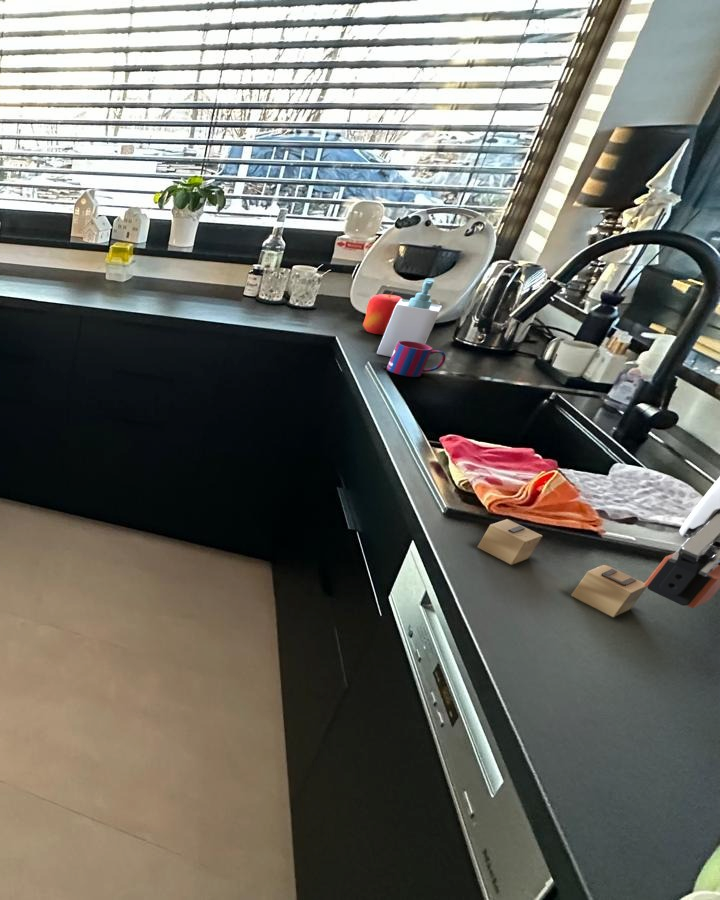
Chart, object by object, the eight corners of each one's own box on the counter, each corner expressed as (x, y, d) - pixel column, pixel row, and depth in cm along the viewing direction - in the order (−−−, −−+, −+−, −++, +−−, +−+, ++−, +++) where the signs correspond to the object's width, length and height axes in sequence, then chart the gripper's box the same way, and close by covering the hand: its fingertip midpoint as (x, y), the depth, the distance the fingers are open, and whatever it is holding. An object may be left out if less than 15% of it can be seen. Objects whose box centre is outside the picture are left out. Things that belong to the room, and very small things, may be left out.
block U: (569, 597, 76) (588, 570, 74) (586, 589, 77) (605, 562, 75) (611, 619, 72) (632, 591, 70) (628, 610, 74) (649, 583, 72)
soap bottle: (375, 354, 159) (406, 278, 150) (381, 346, 165) (410, 273, 156) (416, 362, 154) (450, 285, 145) (420, 354, 160) (453, 280, 151)
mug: (384, 365, 151) (396, 338, 148) (434, 374, 147) (447, 347, 144) (387, 374, 146) (399, 346, 142) (439, 383, 142) (452, 354, 138)
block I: (475, 549, 84) (490, 523, 82) (493, 543, 85) (508, 517, 83) (510, 566, 81) (526, 540, 79) (527, 560, 82) (543, 534, 80)
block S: (643, 585, 69) (666, 555, 67) (660, 577, 71) (683, 547, 69) (692, 608, 66) (718, 577, 64) (709, 600, 68) (735, 569, 66)
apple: (387, 330, 180) (404, 289, 174) (398, 338, 173) (416, 296, 167) (354, 326, 182) (369, 285, 176) (363, 334, 175) (380, 292, 169)
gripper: (824, 477, 54) (689, 634, 62) (889, 450, 60) (758, 596, 69) (703, 439, 60) (594, 587, 68) (773, 418, 66) (666, 556, 75)
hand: (677, 590), depth 68 cm, fingers closed on block S, 4 cm apart
